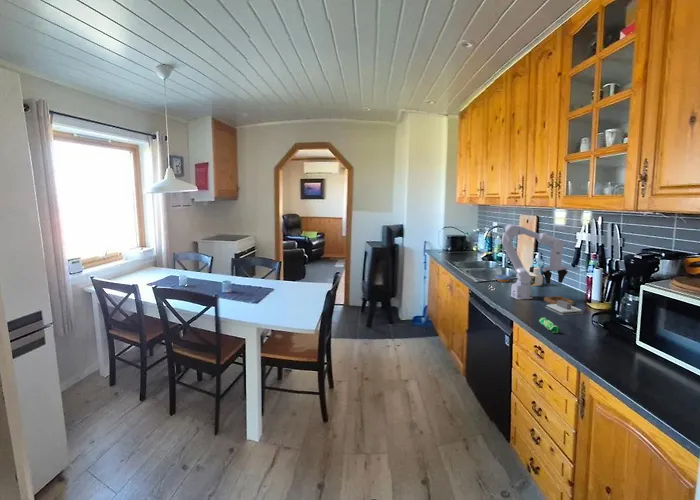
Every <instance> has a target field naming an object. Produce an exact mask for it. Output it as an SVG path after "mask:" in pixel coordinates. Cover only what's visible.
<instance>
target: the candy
mask: <svg viewBox="0 0 700 500" xmlns="http://www.w3.org/2000/svg"><path fill="white" fill-rule="evenodd" d="M538 322H539V324H541V325H542V326H544V327H545V328H546V329H547V330H548V331H551V333H552V334H553V333H554V334H559V332H560V331H561V328H560V327H559V326H557V325H555V324H554V323H553V322H552V321H550V319H547V318H546V316H542V317H540V318H539V319H538Z"/></svg>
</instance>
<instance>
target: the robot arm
mask: <svg viewBox="0 0 700 500" xmlns="http://www.w3.org/2000/svg"><path fill="white" fill-rule="evenodd" d="M501 235H502V237H501V243H502V246H503V248H504V250H505V252H506V254H507V256H508V258H509V260H510V262H511V263H512V266H513V268H514V271H515V276H516V278H517V280H516V281H515V283H512V284H511V287H510V291H511V292H510V297H512V298H514V299H516V300H519V301H520V300H532V299H533V297H532V296H530V295H531V294H530V291H531V285H530V281H531V276H530V274H529V273H528V271H527V269H526V268H525V266H524V265H523V263H522V260H521V259H520V256H519V254H518V253H517V251H516V249H515V247H514V244H513V241H514V238H515V237H517V236H518V235H519V236H520V235H525V236H528V237H531V238H534V239H535V240H537V242H538V243H540V244H543V245H544V246H547V247H550V254H549V264H548V265H549V266H546V267H542V268H541V271H542V275H543V276H544V278H545V279H544V280H545V283H546V284H548V285H549V284H551V277H552V275H553V272H557V282H558V283H559V284H562V283H563V281H564V278H565V277H566V275H567V274H568V273H569V272H568V270H569V267H568V266H564V265H562V259H563V248H564V247H565V242H564V241H563V239H560V238H557V237H556V236H552V235H549V234H548V233H547V232H541V233H538V232H537V231H533V230H530V229H528V228H526V227H523V226H520V225H515V224H512V223H508V224H506V225H505V226H504V227H503V230H502V234H501Z"/></svg>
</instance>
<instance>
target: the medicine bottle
mask: <svg viewBox="0 0 700 500" xmlns="http://www.w3.org/2000/svg"><path fill="white" fill-rule="evenodd" d="M540 273H541V268H540V267H539V266H530V267H529V273H528V274H530V276H531V281H530V286H531V287H538V286H543V279H544V278H543V276H544V274H540Z"/></svg>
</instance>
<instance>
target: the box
mask: <svg viewBox="0 0 700 500" xmlns="http://www.w3.org/2000/svg"><path fill="white" fill-rule="evenodd" d="M557 300H563V301H565V302H568V303H570V304H571V306H573V307H574V300H572V299H569V298H566V297H563V296H561V295H556V296H555V295H554V296H553V295H552V296H544V297H543V302H545V303H547V304H548V305H550V304H557Z"/></svg>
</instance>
